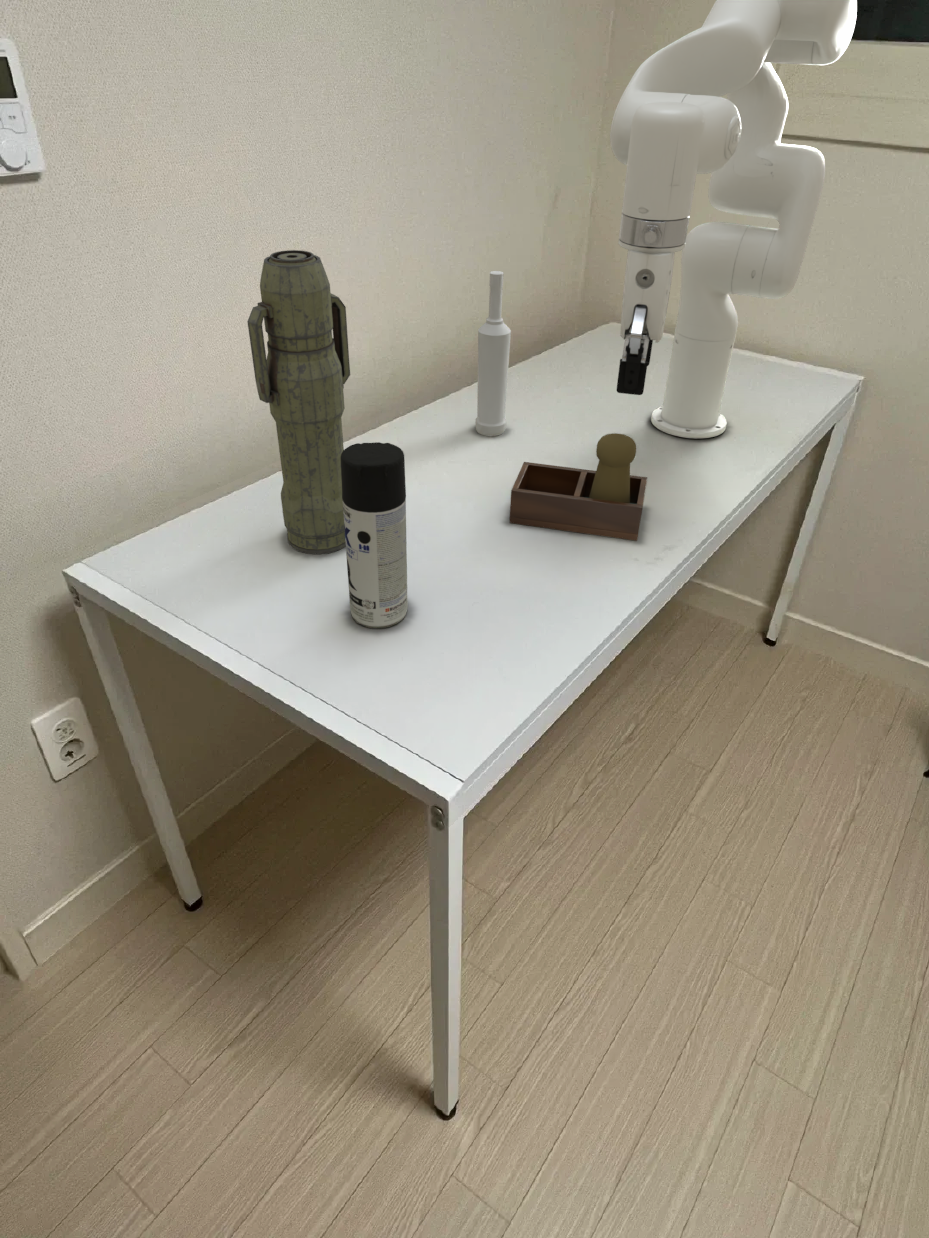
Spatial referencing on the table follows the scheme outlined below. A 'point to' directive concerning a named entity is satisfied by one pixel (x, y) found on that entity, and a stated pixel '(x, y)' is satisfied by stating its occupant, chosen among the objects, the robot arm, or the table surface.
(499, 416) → the bottle
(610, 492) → the cork
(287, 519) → the thermos
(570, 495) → the caddy
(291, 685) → the table surface
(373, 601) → the spray can
